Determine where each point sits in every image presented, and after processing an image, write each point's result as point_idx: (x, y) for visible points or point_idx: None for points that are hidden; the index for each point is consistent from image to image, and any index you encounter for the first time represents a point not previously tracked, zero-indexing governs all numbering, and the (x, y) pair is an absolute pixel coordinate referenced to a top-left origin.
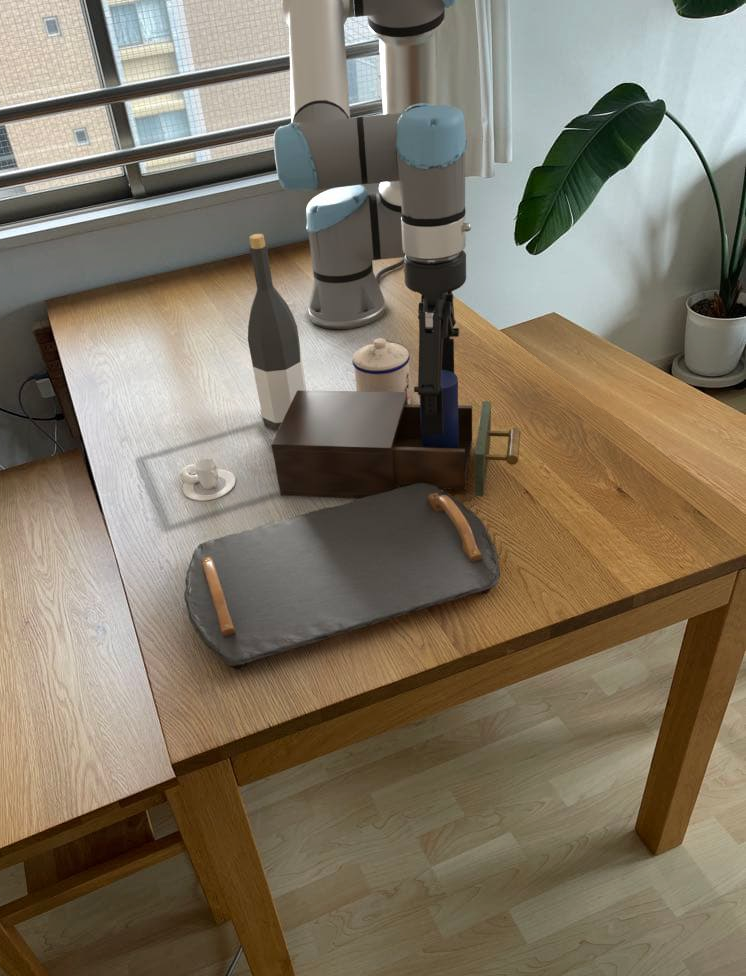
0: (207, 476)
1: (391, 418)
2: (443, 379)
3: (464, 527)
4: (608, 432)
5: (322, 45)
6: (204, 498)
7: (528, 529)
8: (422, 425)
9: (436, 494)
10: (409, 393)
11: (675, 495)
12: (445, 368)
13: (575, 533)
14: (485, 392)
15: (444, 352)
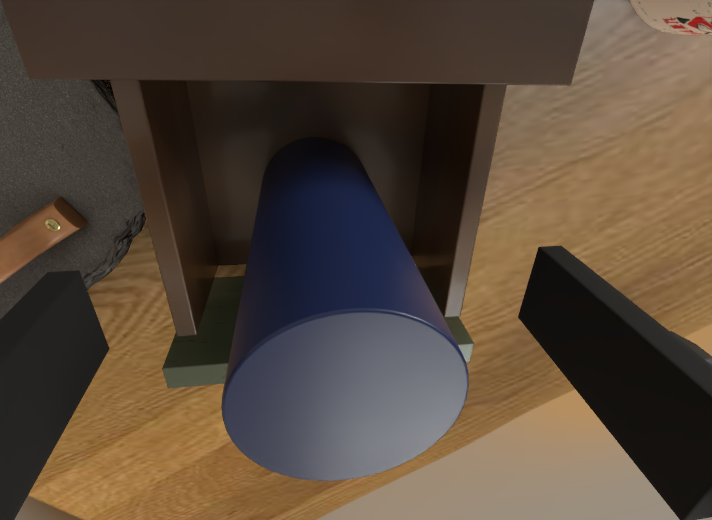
0: None
1: (324, 35)
2: (346, 430)
3: None
4: (455, 435)
5: None
6: None
7: (133, 369)
8: (18, 305)
9: (66, 228)
10: (709, 34)
11: (286, 508)
12: (570, 336)
13: (149, 428)
14: (657, 237)
15: (639, 409)
